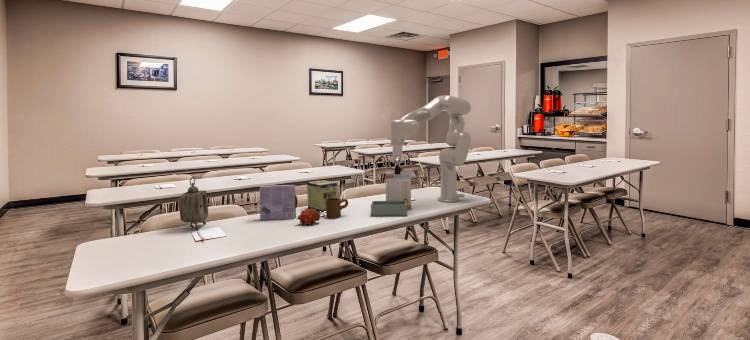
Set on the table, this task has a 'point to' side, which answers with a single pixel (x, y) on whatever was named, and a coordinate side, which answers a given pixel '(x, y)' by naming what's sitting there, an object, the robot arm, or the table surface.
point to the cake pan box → (278, 202)
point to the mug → (335, 207)
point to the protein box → (320, 194)
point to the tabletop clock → (193, 205)
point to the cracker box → (399, 187)
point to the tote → (389, 208)
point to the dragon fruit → (309, 216)
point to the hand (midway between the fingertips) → (397, 173)
